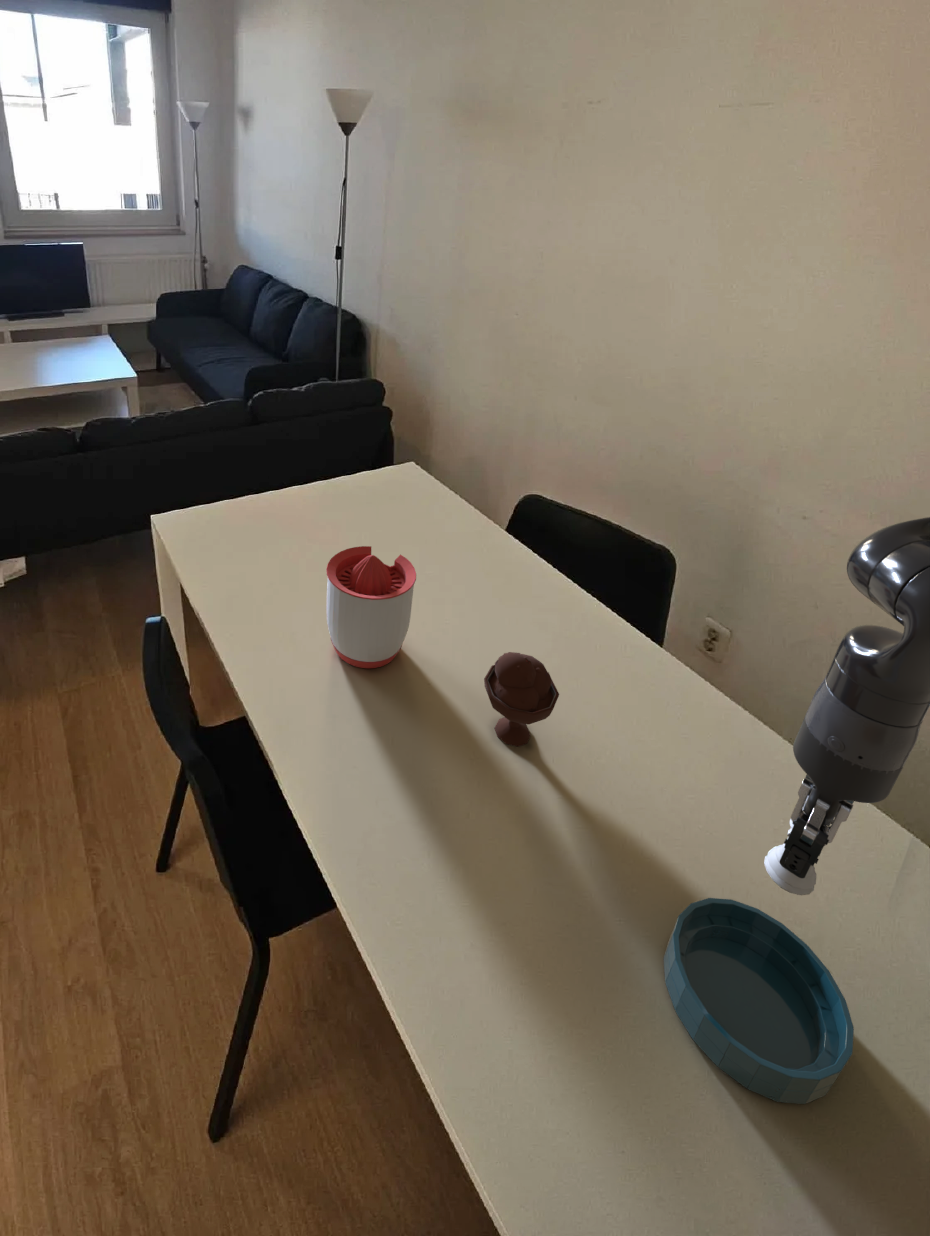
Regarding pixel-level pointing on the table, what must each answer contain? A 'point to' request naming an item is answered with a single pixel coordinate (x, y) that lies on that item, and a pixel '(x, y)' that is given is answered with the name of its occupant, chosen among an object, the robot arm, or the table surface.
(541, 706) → the ice cream bowl
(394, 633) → the citrus juicer
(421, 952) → the table surface
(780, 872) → the rook chess piece
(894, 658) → the robot arm
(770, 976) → the shallow round dish
